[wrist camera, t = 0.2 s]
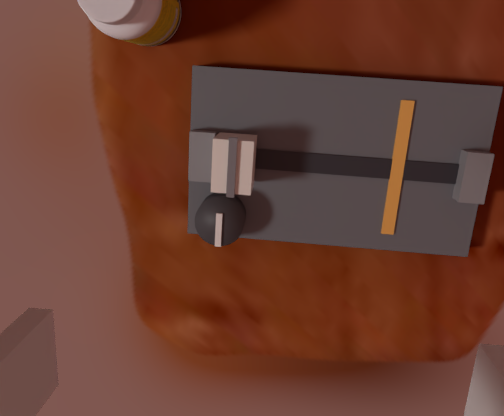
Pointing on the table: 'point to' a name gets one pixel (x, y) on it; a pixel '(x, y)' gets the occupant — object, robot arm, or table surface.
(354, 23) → the table surface
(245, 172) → the fader knob
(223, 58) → the table surface
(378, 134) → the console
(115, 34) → the supplement bottle
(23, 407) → the robot arm
